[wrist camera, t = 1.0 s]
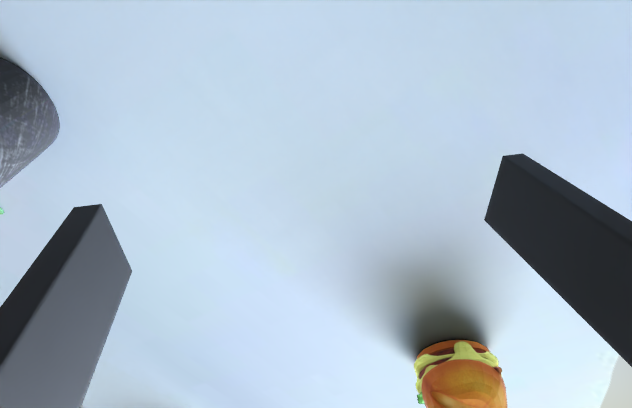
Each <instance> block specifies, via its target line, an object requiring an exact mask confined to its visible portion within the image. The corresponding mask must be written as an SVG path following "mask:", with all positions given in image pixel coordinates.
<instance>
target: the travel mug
mask: <svg viewBox="0 0 632 408" xmlns="http://www.w3.org/2000/svg"><path fill="white" fill-rule="evenodd" d="M58 132H59V118H58V114H57V111H56V108H55V106H54V104H53V102H52V101H51V99H50V97H49V96H48V94H47V93H46V92H45V90H44V89H43V88H42V87H41V86H40V85H39V84H38V83H37V82H36V81H35V80H34V79H33V78H32V77H31V76H30V75H28V74H27V73H26V72H24V71H23V70H22V69H20V68H19V67H17V66H15V65H14V64H12V63H10V62H8V61H6V60H4V59H2V58H0V188H1V187H2V186H3V185H4V184H6V183H7V182H8V181H9V180H10V179H12V178H13V177H14V176H15V175H16V174H17V173H19V172H20V171H21V170H22V169H23V168H25V167H26V166H27V165H28V164H29V163H30V162H32V161H33V160H34V159H35V158H36V157H38V156H39V155H40V154H41V153H42V152H43V151H44V150H46V149H47V148H48V147H49V146H50V145H51V144H52V143H53V142H54V140H55V139H56V137H57V135H58Z"/></svg>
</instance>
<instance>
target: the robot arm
mask: <svg viewBox="0 0 632 408" xmlns="http://www.w3.org/2000/svg"><path fill="white" fill-rule="evenodd" d="M484 220H485V221H486V222H487V223H488V224H489V225H490V226H491V227H492V228H493V229H494V230H495V231H496V232H497V233H498V234H499V235H500V236H501V237H502V238H503V239H504V240H505V241H506V242H507V243H508V244H509V245H510V246H511V247H512V248H513V249H514V250H515V251H516V252H517V253H518V254H519V255H520V256H521V257H522V258H523V259H524V260H525V261H526V262H527V263H528V264H529V265H530V266H531V267H532V268H533V269H534V270H535V271H536V272H537V273H538V274H539V275H540V276H541V277H542V278H543V279H544V280H545V281H546V282H547V283H548V284H549V285H550V286H551V287H552V288H553V289H554V290H555V291H556V292H557V293H558V294H559V295H560V296H561V297H562V298H563V299H564V300H565V301H566V302H567V303H568V304H569V305H570V306H571V307H572V308H573V309H574V310H575V311H576V312H577V313H578V314H579V315H580V316H581V317H582V318H583V319H584V320H585V321H586V322H587V323H588V324H589V325H590V326H591V327H592V328H593V329H594V330H595V331H596V332H597V333H598V334H599V335H600V336H601V337H602V338H603V339H604V340H605V341H606V342H607V343H608V344H609V345H610V346H611V347H612V348H613V349H614V350H615V351H616V352H617V353H618V354H619V355H620V356H621V357H622V358H623V359H624V360H625V361H626V362H628V364H629V365H630V366H631V367H632V221H630V220H629V219H627V218H625V217H624V216H622V215H621V214H619V213H617V212H616V211H614V210H613V209H611V208H609V207H608V206H606V205H605V204H603V203H601V202H600V201H598V200H596V199H595V198H593V197H592V196H590V195H588V194H587V193H585V192H584V191H582V190H580V189H579V188H577V187H576V186H574V185H572V184H571V183H569V182H568V181H566V180H564V179H563V178H561V177H560V176H558V175H556V174H555V173H553V172H551V171H550V170H548V169H547V168H545V167H543V166H542V165H540V164H539V163H537V162H535V161H534V160H532V159H531V158H529V157H527V156H526V155H524V154H516V155H508V156H503V157H502V161H501V164H500V168H499V171H498V175H497V178H496V182H495V185H494V188H493V192H492V195H491V199H490V202H489V206H488V209H487V213H486V216H485V219H484ZM131 273H132V270H131V268H130V265H129V263H128V261H127V259H126V257H125V254H124V252H123V250H122V248H121V246H120V243H119V241H118V239H117V237H116V235H115V232H114V230H113V228H112V226H111V224H110V222H109V219H108V217H107V215H106V213H105V211H104V208H103V206H102V204H98V205H90V206H82V207H74V208H73V210H72V211H71V212H70V214H69V215H68V216H67V218H66V219H65V220H64V222H63V223H62V224H61V226H60V227H59V229H58V230H57V231H56V233H55V234H54V235H53V237H52V238H51V239H50V241H49V242H48V243H47V245H46V246H45V248H44V249H43V250H42V252H41V253H40V254H39V256H38V257H37V258H36V260H35V261H34V263H33V264H32V265H31V267H30V268H29V269H28V271H27V272H26V273H25V275H24V276H23V277H22V279H21V280H20V282H19V283H18V284H17V286H16V287H15V288H14V290H13V291H12V292H11V294H10V295H9V296H8V298H7V299H6V301H5V302H4V303H3V305H2V306H1V307H0V408H81V405H82V403H83V400H84V397H85V395H86V392H87V389H88V387H89V384H90V381H91V379H92V376H93V373H94V371H95V368H96V365H97V363H98V360H99V357H100V355H101V352H102V350H103V347H104V344H105V342H106V339H107V336H108V334H109V331H110V328H111V326H112V323H113V320H114V318H115V315H116V312H117V310H118V307H119V304H120V302H121V299H122V296H123V294H124V291H125V289H126V286H127V283H128V281H129V278H130V275H131Z"/></svg>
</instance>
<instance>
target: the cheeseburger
mask: <svg viewBox="0 0 632 408" xmlns="http://www.w3.org/2000/svg"><path fill="white" fill-rule="evenodd" d="M498 364H499V363H498V359H497V358H496V357H495V356H494V355H493V354H492V353H490V351H489V350H488V349H487V347H485V346H484V345H482V344H480V343H478V342H474V341H468V340H448V341H444V342H440V343H436V344H433V345H431V346H429V347H427V348H425V349H423V350H422V351H421V352H420V353H419V355H418V356H417V360H416V362H415V363H414V369H415V372H416V376H417V382H416V389H417V391H418V393H419V395H417V397H418V399H417V400H418V401H419V402H418V403H419V404H425V406H426V408H507V398H506V387H505V384H504V381H503V379H502V376H501V372H502V369H501V368H500V367H498Z"/></svg>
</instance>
